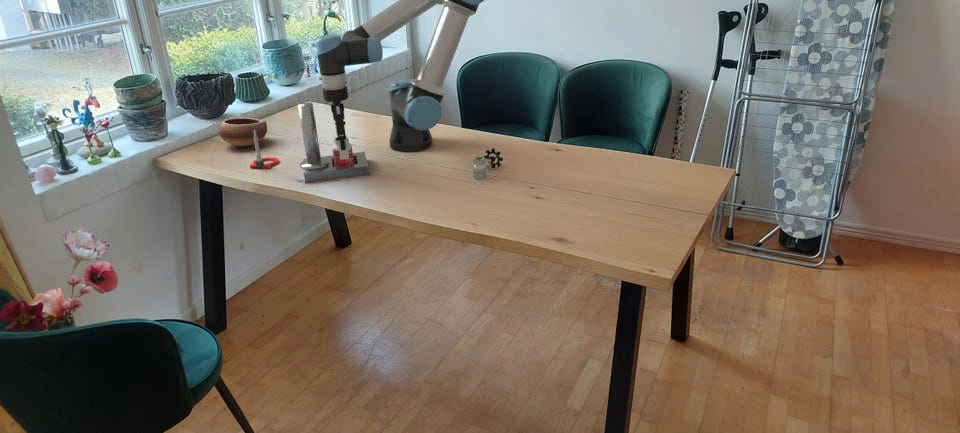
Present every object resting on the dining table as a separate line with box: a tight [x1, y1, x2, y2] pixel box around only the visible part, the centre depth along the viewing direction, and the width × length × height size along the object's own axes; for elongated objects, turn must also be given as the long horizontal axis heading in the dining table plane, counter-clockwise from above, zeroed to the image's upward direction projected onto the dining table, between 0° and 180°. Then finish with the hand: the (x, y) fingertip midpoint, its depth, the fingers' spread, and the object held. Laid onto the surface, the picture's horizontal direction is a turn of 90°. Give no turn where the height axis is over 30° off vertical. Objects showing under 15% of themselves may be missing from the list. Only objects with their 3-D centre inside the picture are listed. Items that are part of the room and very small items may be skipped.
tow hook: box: [249, 131, 280, 169], centre depth 228 cm, size 8×13×9 cm
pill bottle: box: [332, 135, 354, 167], centre depth 220 cm, size 6×6×11 cm
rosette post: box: [297, 101, 370, 184], centre depth 216 cm, size 21×14×23 cm, turn 103°
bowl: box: [219, 117, 268, 147], centre depth 247 cm, size 16×16×10 cm
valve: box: [472, 147, 504, 181], centre depth 213 cm, size 7×7×12 cm
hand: (343, 151), depth 219 cm, fingers open, 13 cm apart
